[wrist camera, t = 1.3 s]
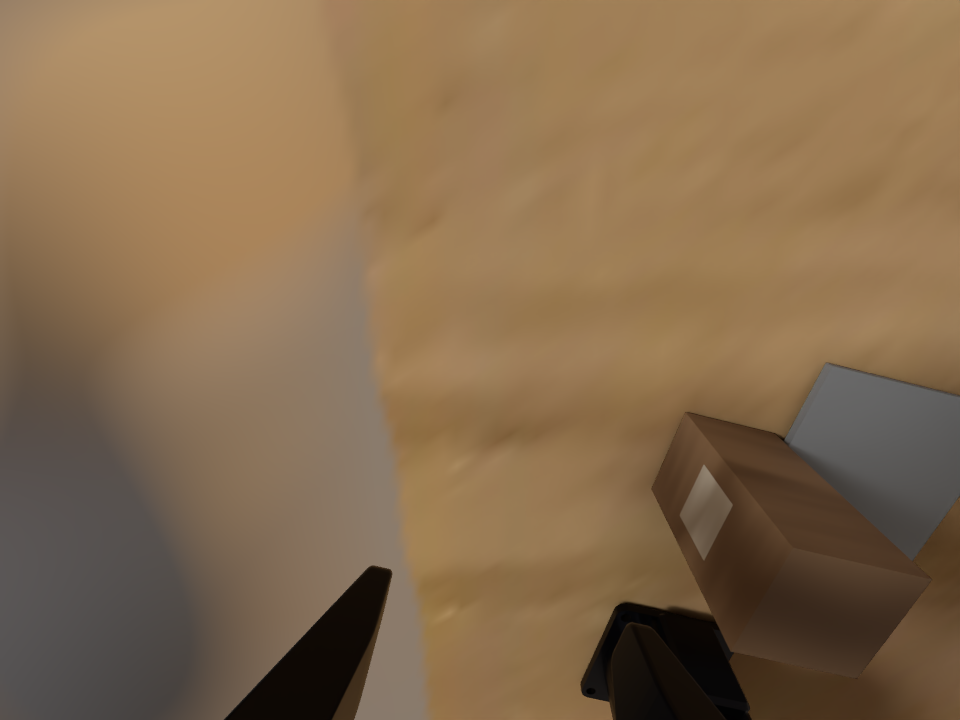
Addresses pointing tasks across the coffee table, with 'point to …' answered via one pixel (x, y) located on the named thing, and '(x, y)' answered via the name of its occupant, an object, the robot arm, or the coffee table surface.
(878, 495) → the felt mat
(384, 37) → the coffee table surface
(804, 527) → the walnut block
